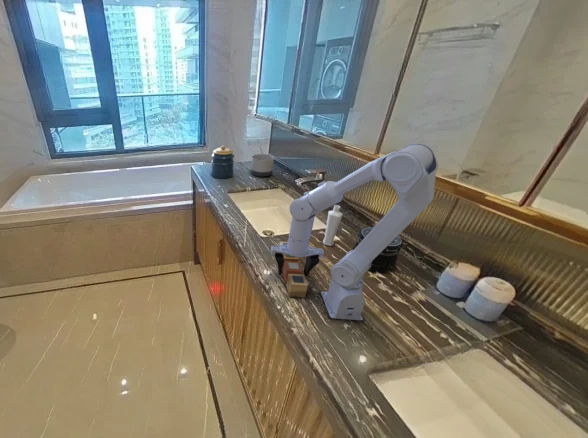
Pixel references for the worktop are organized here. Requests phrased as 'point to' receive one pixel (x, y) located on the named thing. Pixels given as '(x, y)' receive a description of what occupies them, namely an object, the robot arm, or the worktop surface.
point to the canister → (222, 163)
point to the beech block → (289, 259)
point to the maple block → (296, 285)
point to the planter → (262, 165)
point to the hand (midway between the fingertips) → (292, 273)
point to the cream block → (283, 243)
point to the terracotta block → (291, 269)
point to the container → (386, 256)
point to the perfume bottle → (332, 225)
